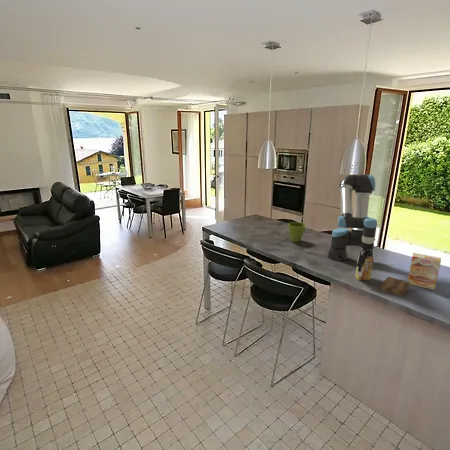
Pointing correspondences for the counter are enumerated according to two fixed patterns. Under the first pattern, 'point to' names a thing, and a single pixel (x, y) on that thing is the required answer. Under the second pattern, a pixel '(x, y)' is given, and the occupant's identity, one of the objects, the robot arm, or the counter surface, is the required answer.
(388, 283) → the walnut block
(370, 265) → the candy box
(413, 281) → the coffeecake box
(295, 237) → the flower pot
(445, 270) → the counter surface
